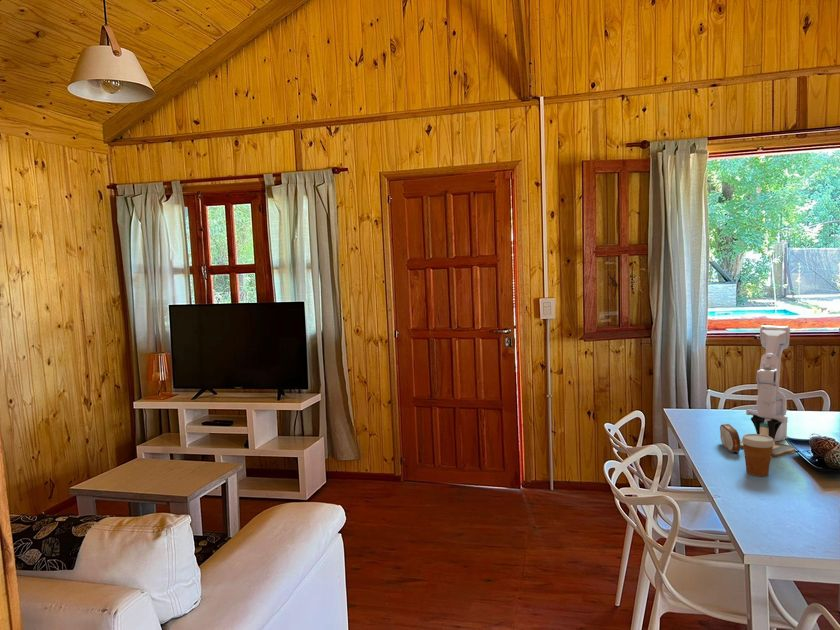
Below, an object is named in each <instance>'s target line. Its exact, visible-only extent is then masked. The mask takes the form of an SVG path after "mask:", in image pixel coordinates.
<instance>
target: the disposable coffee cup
mask: <svg viewBox="0 0 840 630" xmlns="http://www.w3.org/2000/svg"><path fill="white" fill-rule="evenodd" d="M741 441H742V443H743V447H744V449H743V453H744V455H743V456H744V463H745V470H746V473H747V474H749V475H751V476H755V477H766V476H769V471H770V466H771V459H772V457H771V454H772V449H773V446H774V444H775V442H776V441H773V438H772V437H769V436H766V435H761V434H757V433H745V434H744V435H743V436H742V438H741Z"/></svg>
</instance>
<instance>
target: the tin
mask: <svg viewBox="0 0 840 630" xmlns="http://www.w3.org/2000/svg"><path fill="white" fill-rule="evenodd" d="M719 433H720V434H719V435H720V436H719V437H720V440H721V444H722V445H723V446H724V447H725V448H726V449H727V450H728V451H729V452H730V453H739V452H740V451H741V448H740V441H741V439H740V435H739V432H738V430H737V429H736V428H735V427H733V426H732V425H731V424H729V423H723V424H720V426H719Z"/></svg>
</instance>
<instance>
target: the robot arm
mask: <svg viewBox="0 0 840 630" xmlns="http://www.w3.org/2000/svg"><path fill="white" fill-rule="evenodd" d="M790 335H791V328H790V326H789V325H785V326H784V325H782V326H781V325H764V324H762V325H761V326H760V329H759V340H760V344H761V348H764V349H765V353H764V354H762V356H761V358H760V362H759V363H760V365H759V368H758V369H759V370H758V369H757V371H756V385H757V386H756V389H757V398H756V406H755V407H756V409H751V408H747V409H746V411H745V412H746V413H745V415H746V416H752V417H750V421H751V422H752V424H753V426H754V428H755V431H756V434H760V422H767V423H768V427H769V437H772V438H773V441H774V442H779V441H782V440H785V438H786V439H788V438H787V437H789V436H788V435H787V434H788V432H787V431H788V419H789V418H788V416H786V415H787V407H788V406H787V396H786V395H785V394H784V393H783V392H781V391H780V379H781V378H780V377H781V361H782V354H783V351H785V350H786V349H789V346H790ZM789 438H790V437H789Z"/></svg>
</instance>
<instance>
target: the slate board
mask: <svg viewBox="0 0 840 630" xmlns="http://www.w3.org/2000/svg"><path fill="white" fill-rule="evenodd" d="M774 442H775V444H774V446H773V449H772V454H771V458H774V459H775V458H776V459H777V458H781V457H783V456H786V455H790V454H794V453H796V452H795V448H794V447H795V446H794V445H789V444H784V443H781V442H779V441H774ZM740 449H742V450H744V447H743V443H742V440H740Z"/></svg>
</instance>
